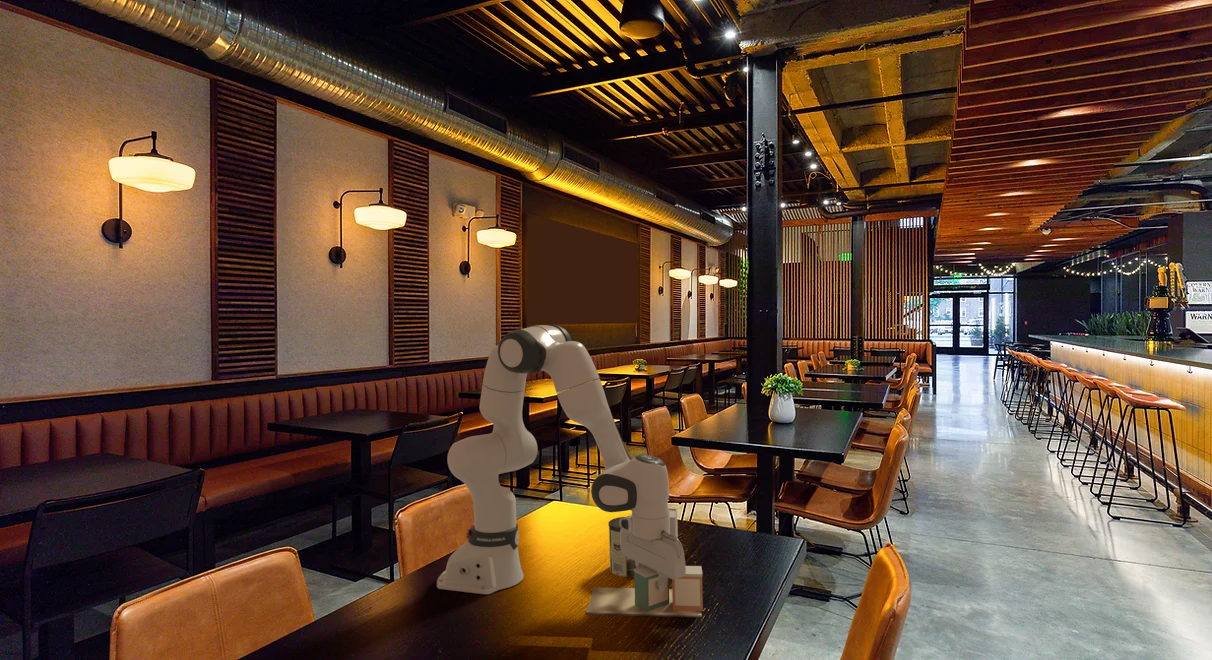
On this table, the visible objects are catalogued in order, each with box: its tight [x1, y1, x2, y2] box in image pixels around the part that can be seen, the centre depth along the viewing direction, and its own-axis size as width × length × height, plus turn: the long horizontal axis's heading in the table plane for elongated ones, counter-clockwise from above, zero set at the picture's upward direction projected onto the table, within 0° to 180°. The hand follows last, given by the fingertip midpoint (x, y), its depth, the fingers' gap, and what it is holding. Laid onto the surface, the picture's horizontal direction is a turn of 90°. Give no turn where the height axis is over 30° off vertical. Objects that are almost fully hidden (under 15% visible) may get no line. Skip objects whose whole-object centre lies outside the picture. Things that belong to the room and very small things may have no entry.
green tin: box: [633, 566, 670, 612], centre depth 137 cm, size 5×7×8 cm
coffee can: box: [608, 516, 636, 578], centre depth 158 cm, size 10×10×14 cm
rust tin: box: [671, 565, 704, 612], centre depth 136 cm, size 5×7×8 cm
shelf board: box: [585, 586, 703, 618], centre depth 139 cm, size 26×14×2 cm, turn 84°
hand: (652, 585), depth 137 cm, fingers open, 5 cm apart
